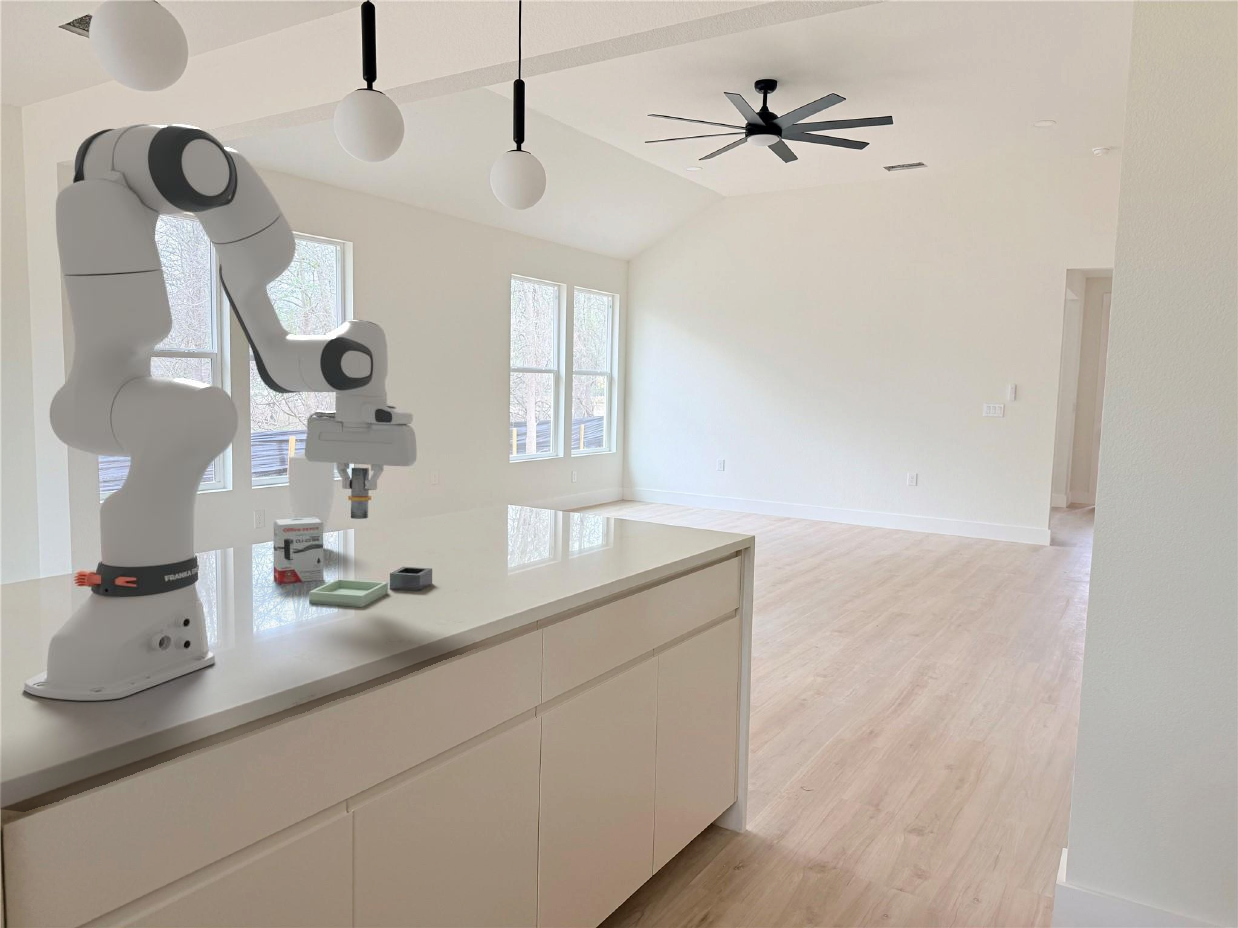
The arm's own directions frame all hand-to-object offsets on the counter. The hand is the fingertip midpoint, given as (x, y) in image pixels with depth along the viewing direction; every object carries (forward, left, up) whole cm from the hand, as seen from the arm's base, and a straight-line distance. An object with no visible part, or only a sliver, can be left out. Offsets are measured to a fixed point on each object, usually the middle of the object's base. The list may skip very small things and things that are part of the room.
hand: (359, 489), depth 148 cm
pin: (0, 0, -5) cm, 5 cm away
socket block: (+10, -6, -20) cm, 23 cm away
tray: (-1, +1, -20) cm, 20 cm away
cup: (+38, +31, -20) cm, 53 cm away
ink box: (+9, +17, -20) cm, 28 cm away
